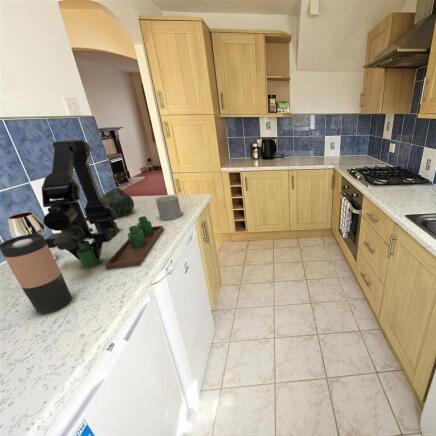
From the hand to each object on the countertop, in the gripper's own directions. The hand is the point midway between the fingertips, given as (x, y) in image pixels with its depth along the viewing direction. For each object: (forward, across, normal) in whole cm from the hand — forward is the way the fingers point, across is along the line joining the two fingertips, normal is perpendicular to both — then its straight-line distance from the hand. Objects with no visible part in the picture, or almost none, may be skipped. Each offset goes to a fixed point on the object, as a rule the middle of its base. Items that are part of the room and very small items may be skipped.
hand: (90, 259), depth 84 cm
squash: (+2, -11, +50) cm, 51 cm away
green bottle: (+2, 0, 0) cm, 2 cm away
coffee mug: (+2, +16, +42) cm, 45 cm away
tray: (+2, +12, +10) cm, 15 cm away
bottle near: (+2, +12, +19) cm, 23 cm away
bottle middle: (+2, +12, +10) cm, 15 cm away
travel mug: (+2, +1, -20) cm, 21 cm away
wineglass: (+2, -18, +6) cm, 19 cm away
